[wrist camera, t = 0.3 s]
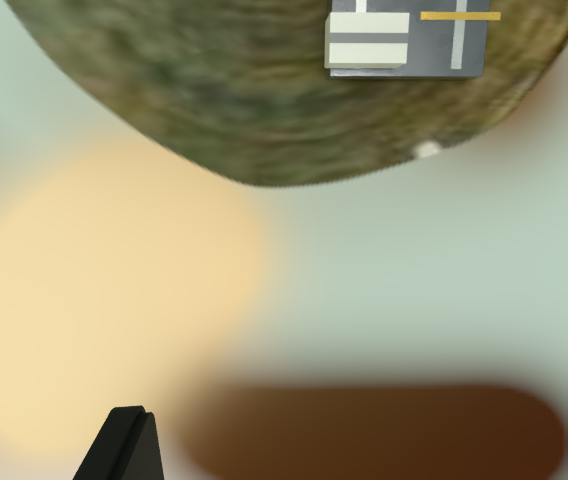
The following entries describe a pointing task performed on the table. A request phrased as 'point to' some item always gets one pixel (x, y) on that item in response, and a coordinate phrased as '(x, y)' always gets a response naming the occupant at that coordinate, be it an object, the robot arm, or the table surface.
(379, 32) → the block
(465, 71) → the console
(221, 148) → the table surface
